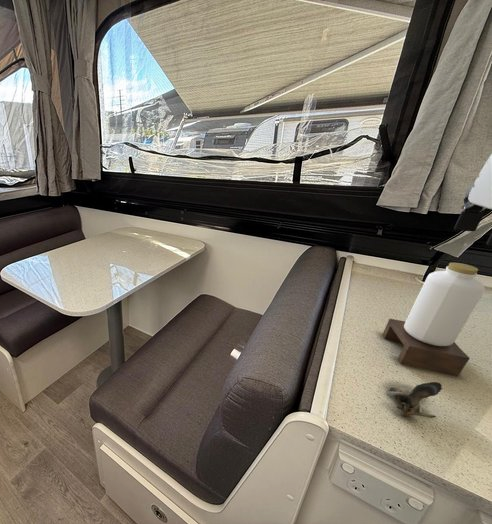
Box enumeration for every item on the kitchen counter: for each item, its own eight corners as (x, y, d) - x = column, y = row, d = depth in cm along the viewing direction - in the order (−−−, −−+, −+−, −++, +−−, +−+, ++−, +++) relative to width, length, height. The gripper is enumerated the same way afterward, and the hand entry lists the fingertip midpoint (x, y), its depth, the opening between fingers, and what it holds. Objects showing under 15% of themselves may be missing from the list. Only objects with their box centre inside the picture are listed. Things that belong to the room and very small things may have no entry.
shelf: (429, 346, 68) (440, 327, 65) (456, 379, 59) (470, 358, 56) (381, 337, 71) (389, 318, 69) (398, 366, 62) (409, 346, 60)
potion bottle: (418, 322, 67) (451, 256, 60) (461, 344, 60) (506, 272, 52) (393, 328, 65) (424, 260, 58) (435, 351, 58) (477, 278, 50)
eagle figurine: (445, 436, 46) (451, 399, 51) (428, 402, 46) (435, 367, 50) (389, 423, 53) (399, 391, 57) (373, 393, 52) (384, 363, 57)
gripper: (621, 142, 37) (547, 256, 44) (519, 141, 51) (476, 227, 58) (542, 143, 40) (484, 250, 47) (467, 142, 54) (431, 224, 61)
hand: (479, 237), depth 53 cm, fingers open, 9 cm apart
